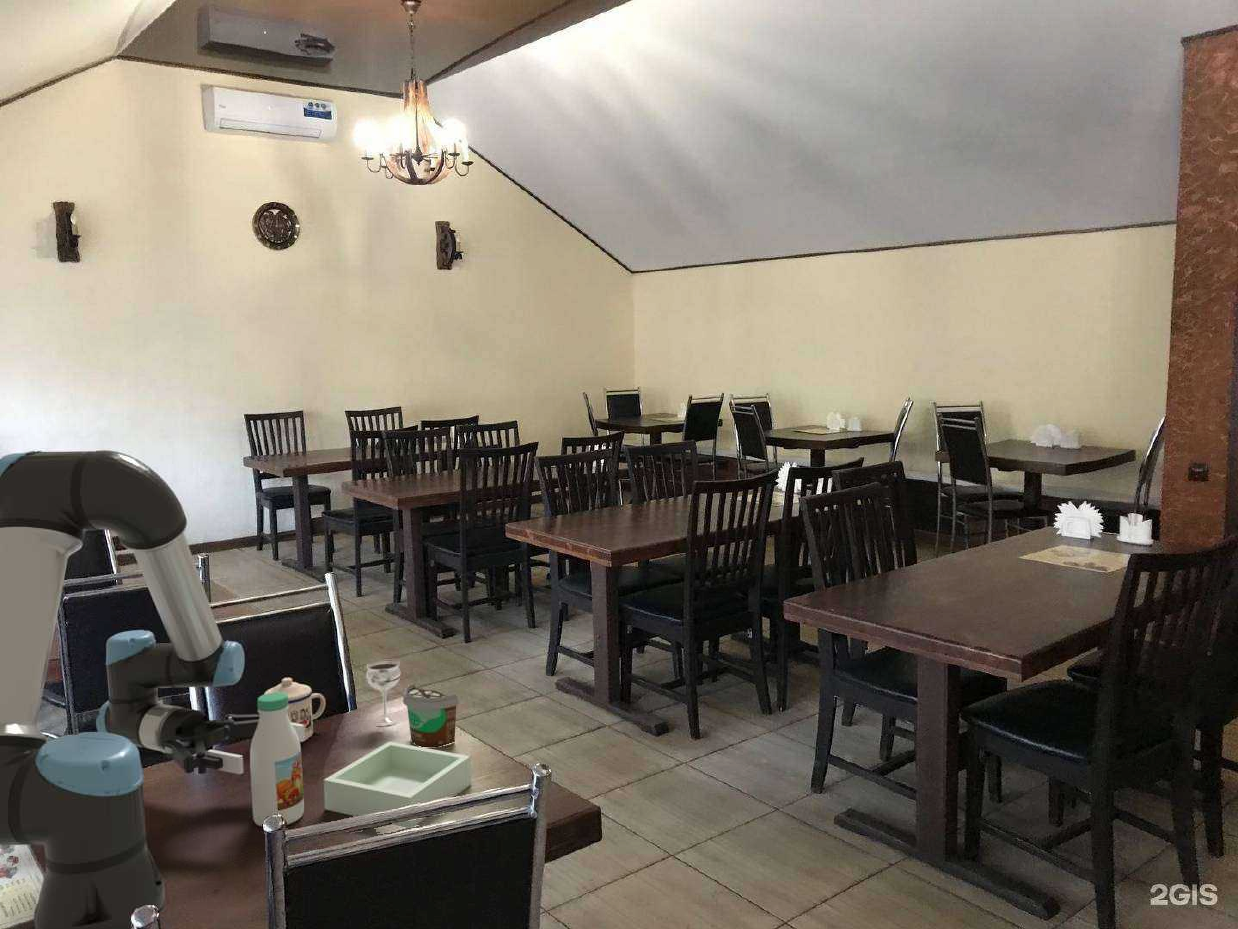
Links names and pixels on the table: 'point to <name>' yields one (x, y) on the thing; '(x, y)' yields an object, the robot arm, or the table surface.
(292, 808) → the milk bottle
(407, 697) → the food container
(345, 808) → the pale green tray
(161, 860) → the table surface
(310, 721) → the teacup with lid
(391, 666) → the wineglass
